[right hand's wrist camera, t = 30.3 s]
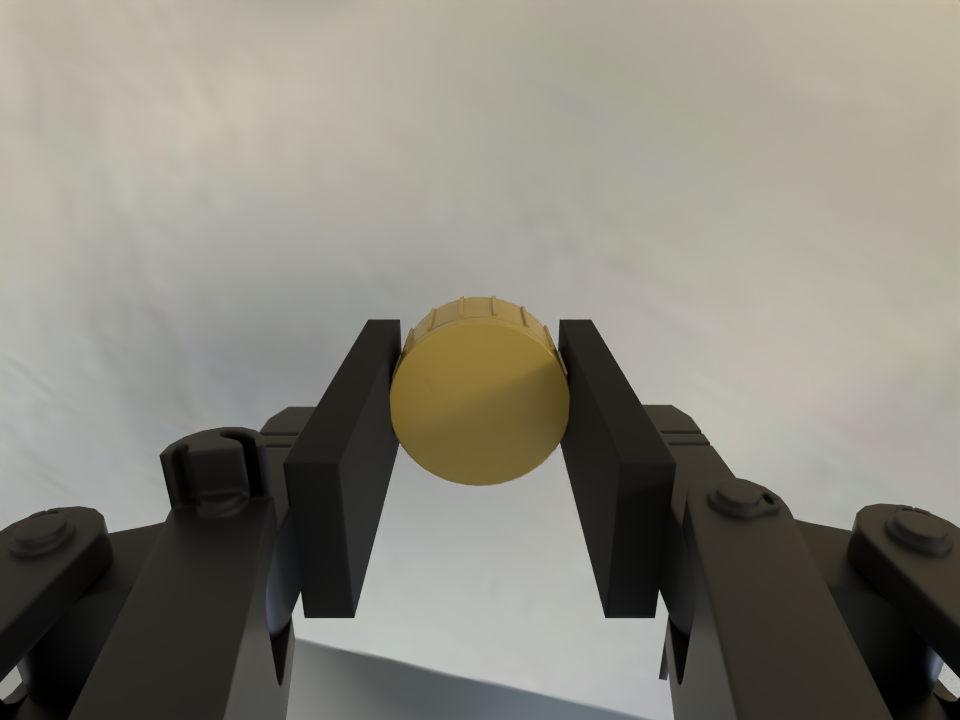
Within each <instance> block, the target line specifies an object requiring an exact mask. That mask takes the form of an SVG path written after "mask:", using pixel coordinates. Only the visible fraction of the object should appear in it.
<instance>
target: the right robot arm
mask: <svg viewBox="0 0 960 720" xmlns="http://www.w3.org/2000/svg"><path fill="white" fill-rule="evenodd" d="M558 351H560V354H561V357H562V359H563V362H564V365H565V367H566V370H567V373H568V377H567V382H568V385H569V390H570V402H569V418H568V425H567V428H566V431H565V433H564V435H563V437H562V439H561V441H560V444H561V448H562V452H563V456H564V460H565V463H566V467H567V471H568V475H569V479H570V483H571V487H572V491H573V494H574V498H575V502H576V506H577V510H578V514H579V518H580V522H581V525H582V529H583V533H584V537H585V541H586V545H587V549H588V553H589V556H590V560H591V564H592V568H593V572H594V576H595V580H596V584H597V587H598V591H599V595H600V599H601V603H602V607H603V611H604V615H605V618H655V614H656V607H657V599H658V592H659V590H660V592H661V595H662V597H663V600H664V602H665V605H666V607H667V610H668V612H669V615H668V622H667V628H666V635H665V642H664V648H663V655H662V661H661V668H660V675H659V679H662V680H667V676H668V671H669V679H670V687H671V695H672V704H673V712H674V720H960V697H959V698H956V697H955V696H954V695H953V694H952V693H951V692H950V691H949V690H947V688H946V687H945V686H944V685H943V684H942V683H941V682H940V681H939V679H938V677H939V674H940V672H941V669H942V666H943V664H944V662H945V663H946V664H947V665H948V666H949V667H950V669H951V670H952V671H953V672H954V673H955V674H956V675H957V676H958V677H959V678H960V528H959V527H957V526H955V525H954V524H952V523H951V522H949V521H947V520H945V519H942V518H940V517H938V516H935V515H933V514H931V513H930V512H928V511H925V510H922V509H919V508H915V509H914V508H912V507H911V506H905V505H893V504H875V505H870V506H865V507H864V508H863V509H861V510H860V511H859V512H858V513H857V514H856V518H855V521H854V525H853V529H852V531H849V530H844V529H839V528H833V527H828V526H823V525H818V524H812V523H808V522H804V521H800V520H796V519H794V518H793V516H792V514H791V512H790V510H789V508H788V506H787V505H786V504H785V503H784V502H783V500H782V499H781V498H780V497H779V496H778V495H776V494H775V493H773V492H772V491H770V490H768V489H767V488H765V487H763V486H761V485H758V484H756V483H753V482H750V481H748V480H744V479H739V478H736V477H735V476H734V475H733V473H732V472H731V470H730V469H729V468H728V466H727V465H726V464H725V462H724V461H723V460H722V458H721V457H720V456H719V454H718V453H717V452H716V450H715V449H714V448H713V446H710V442H709V441H708V439H707V438H706V437H705V435H704V434H701V430H700V429H699V427H698V426H697V425H696V423H695V422H694V421H693V419H692V418H691V417H690V416H688V415H687V414H685V413H684V412H682V411H680V410H679V409H677V408H675V407H674V406H672V405H642V404H641V403H640V401H639V399H638V398H637V396H636V394H635V393H634V391H633V389H632V388H631V386H630V384H629V382H628V381H627V379H626V377H625V376H624V374H623V372H622V371H621V369H620V367H619V366H618V364H617V362H616V361H615V359H614V357H613V356H612V354H611V352H610V351H609V349H608V347H607V345H606V344H605V342H604V340H603V339H602V337H601V335H600V334H599V332H598V330H597V329H596V327H595V325H594V324H593V322H592V320H560V324H559V343H558ZM400 355H402V351H401V332H400V320H368V321H367V323H366V325H365V326H364V328H363V330H362V331H361V333H360V335H359V336H358V338H357V340H356V341H355V343H354V345H353V346H352V348H351V350H350V351H349V353H348V355H347V357H346V358H345V360H344V362H343V363H342V365H341V367H340V368H339V370H338V372H337V373H336V375H335V377H334V378H333V380H332V382H331V383H330V385H329V387H328V388H327V390H326V392H325V394H324V395H323V397H322V399H321V400H320V402H319V404H318V405H317V407H288V408H286V409H284V410H283V411H281V412H279V413H278V414H276V415H275V416H273V417H271V418H270V419H269V420H268V421H267V422H266V424H265V425H264V427H263V428H262V429H261V431H260V432H257V431H256V430H252V429H247V428H243V427H222V428H216V429H210V430H204V431H201V432H198V433H195V434H192V435H189V436H186V437H184V438H182V439H180V440H178V441H176V442H174V443H173V444H171V445H169V446H168V447H167V448H166V449H165V450H164V451H163V452H162V453H161V454H160V460H161V464H162V468H163V473H164V477H165V481H166V486H167V490H168V495H169V499H170V503H171V508H172V509H171V511H170V513H169V515H168V517H167V519H166V521H165V522H163V523H159V524H155V525H151V526H145V527H140V528H135V529H130V530H125V531H119V532H114V533H109V534H108V530H107V527H106V523H105V520H104V516H103V515H102V514H100V513H99V512H98V511H97V510H95V509H92V508H86V507H80V506H77V507H65V508H54V509H49V510H48V511H41V512H38V513H35V514H32V515H31V516H29V517H27V518H25V519H23V520H20V521H18V522H15V523H13V524H11V525H10V526H8V527H7V528H5V529H3V530H2V531H0V682H1V681H2V680H3V679H4V678H5V677H6V676H7V675H8V673H9V672H10V671H11V670H12V669H13V668H14V667H15V666H16V665H17V668H18V670H19V673H20V676H21V678H22V682H21V684H20V685H19V686H18V687H17V688H16V689H15V690H14V691H13V693H11V694H10V695H9V696H8V697H6V698H5V699H4V700H3V701H2V700H1V699H0V720H286V713H287V705H288V697H289V688H290V680H291V672H292V663H293V655H294V647H295V635H294V629H293V622H292V612H293V609H294V607H295V604H296V602H297V599H298V597H299V594H300V591H301V595H302V602H303V609H304V616H305V618H354V617H355V613H356V609H357V605H358V601H359V598H360V594H361V590H362V586H363V582H364V578H365V574H366V570H367V567H368V563H369V559H370V555H371V551H372V547H373V543H374V539H375V536H376V532H377V528H378V524H379V520H380V516H381V512H382V508H383V505H384V501H385V497H386V493H387V489H388V485H389V481H390V477H391V474H392V470H393V466H394V462H395V458H396V454H397V450H398V447H399V443H400V442H399V440H398V438H397V436H396V434H395V432H394V429H393V427H392V422H391V409H390V388H391V383H392V376H393V373H394V370H395V368H396V365H397V362H398V359H399V356H400Z"/></svg>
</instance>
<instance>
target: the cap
mask: <svg viewBox="0 0 960 720" xmlns="http://www.w3.org/2000/svg"><path fill="white" fill-rule="evenodd" d="M567 377H568V373H567V370H566V367H565V365H564V362H563V359H562V357H561V354H560V351H558V352H557V350H556V347H555V345H554V343H553V340H552V338H551V336H550V333H549V330H548V327H547V326H546V325H545V326H544V327H543V325H542V324H541V323H540V322H539V321H538V320H537V319H536V318H535V317H534V316H533V315H531V314H530V313H528V312H527V311H526V309H525V307H523V306H522V307H521V308H520V307H518V306H516V305H514V304H512V303H509V302H506V301H504V300H499V299H496V296H492V298H486V297H473V298H465V299H464V297H460V300H456V301H453V302H450V303H448V304H445V305H443V306H441V307H439V308H437V309H436V310H435V308H433V309H431V313H430V314H428V315H427V316H426V317H425V318H424V319H422V321H421V322H420V323H419V324H418V325H417V326H416V327H415V328H414V329H412V328H411V330H410V332H409V334H408V337H407V340H406V343H405V346H404V349H403V352H402V355H400V356H399V359H398V362H397V365H396V368H395V370H394V373H393V376H392V383H391V388H390V409H391V422H392V427H393V429H394V432H395V434H396V436H397V438H398V440H399V442H400V443H401V445H402V447H403V448H404V449H405V451H406V452H407V453H408V454H409V456H410V457H411V458H412V459H413V460H414V461H415V462H416V463H418V464H419V465H420V466H422V467H423V468H424V469H426V470H427V471H429V472H431V473H432V474H434V475H436V476H438V477H440V478H443V479H445V480H448V481H451V482H455V483H459V484H465V485H475V486H484V485H495V484H501V483H504V482H508V481H512V480H514V479H517V478H519V477H522V476H523V475H525V474H527V473H529V472H531V471H532V470H534V469H535V468H537V467H538V466H539V465H541V464H542V463H543V462H544V461H545V460H546V459H547V458H548V457H549V456H550V455H551V454H552V453H553V451H554V450H555V449H556V447H557V446H558V444H559V443H560V441H561V439H562V437H563V435H564V433H565V431H566V428H567V425H568V418H569V402H570V390H569V385H568V382H567Z"/></svg>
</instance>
